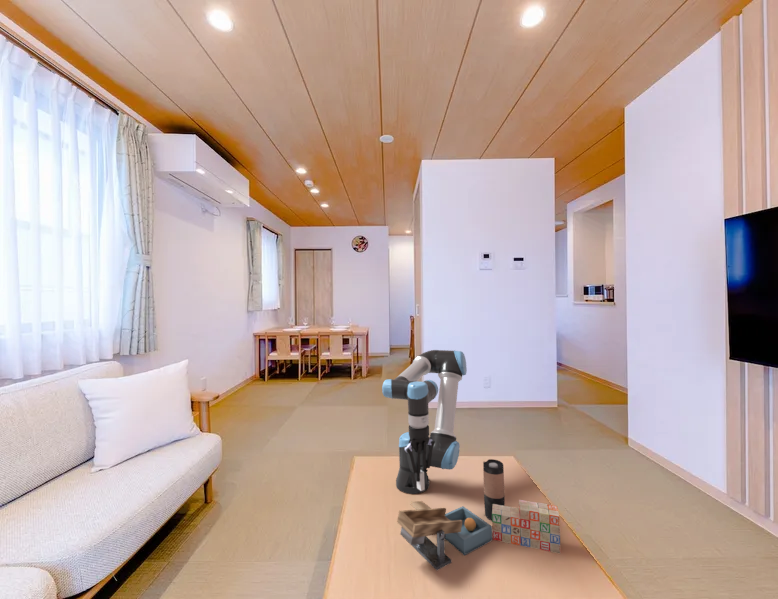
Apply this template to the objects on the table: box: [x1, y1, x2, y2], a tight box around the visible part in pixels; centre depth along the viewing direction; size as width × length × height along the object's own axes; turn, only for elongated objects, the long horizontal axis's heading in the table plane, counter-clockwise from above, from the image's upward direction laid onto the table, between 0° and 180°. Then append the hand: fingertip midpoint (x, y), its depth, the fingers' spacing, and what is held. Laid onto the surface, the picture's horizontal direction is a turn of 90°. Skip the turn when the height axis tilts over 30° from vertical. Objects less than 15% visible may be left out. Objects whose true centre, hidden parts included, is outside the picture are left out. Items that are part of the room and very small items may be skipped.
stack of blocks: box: [491, 499, 561, 555], centre depth 117 cm, size 21×6×12 cm, turn 70°
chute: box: [396, 500, 462, 546], centre depth 117 cm, size 20×20×6 cm
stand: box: [411, 530, 453, 572], centre depth 112 cm, size 6×14×10 cm, turn 31°
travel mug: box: [482, 458, 506, 522], centre depth 131 cm, size 8×8×20 cm
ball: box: [464, 518, 476, 531], centre depth 122 cm, size 4×4×4 cm
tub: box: [444, 505, 493, 557], centre depth 120 cm, size 13×14×5 cm
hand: (420, 488), depth 126 cm, fingers closed
